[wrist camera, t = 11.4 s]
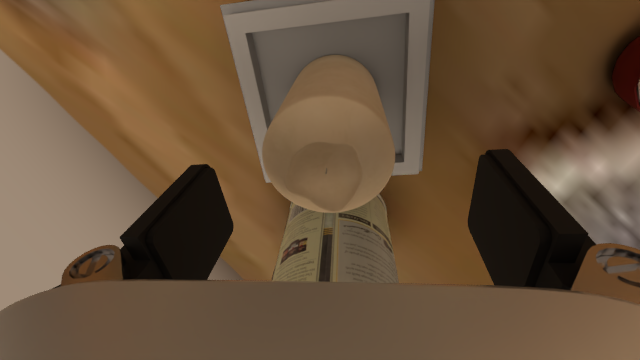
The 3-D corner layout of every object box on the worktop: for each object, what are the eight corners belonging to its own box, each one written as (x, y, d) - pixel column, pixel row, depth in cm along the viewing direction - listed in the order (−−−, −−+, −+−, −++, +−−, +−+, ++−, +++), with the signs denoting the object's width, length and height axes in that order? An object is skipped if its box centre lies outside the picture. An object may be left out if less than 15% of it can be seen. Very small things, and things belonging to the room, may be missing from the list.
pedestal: (417, -23, 20) (442, -27, 15) (410, 141, 26) (425, 179, 21) (245, 2, 21) (211, 6, 16) (277, 151, 28) (261, 188, 22)
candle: (382, 128, 20) (407, 225, 12) (305, 143, 21) (279, 242, 13) (370, 43, 18) (391, 92, 9) (282, 65, 19) (229, 127, 10)
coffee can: (359, 261, 35) (364, 401, 23) (276, 230, 33) (236, 364, 21) (407, 198, 29) (447, 338, 18) (312, 157, 28) (285, 282, 16)
